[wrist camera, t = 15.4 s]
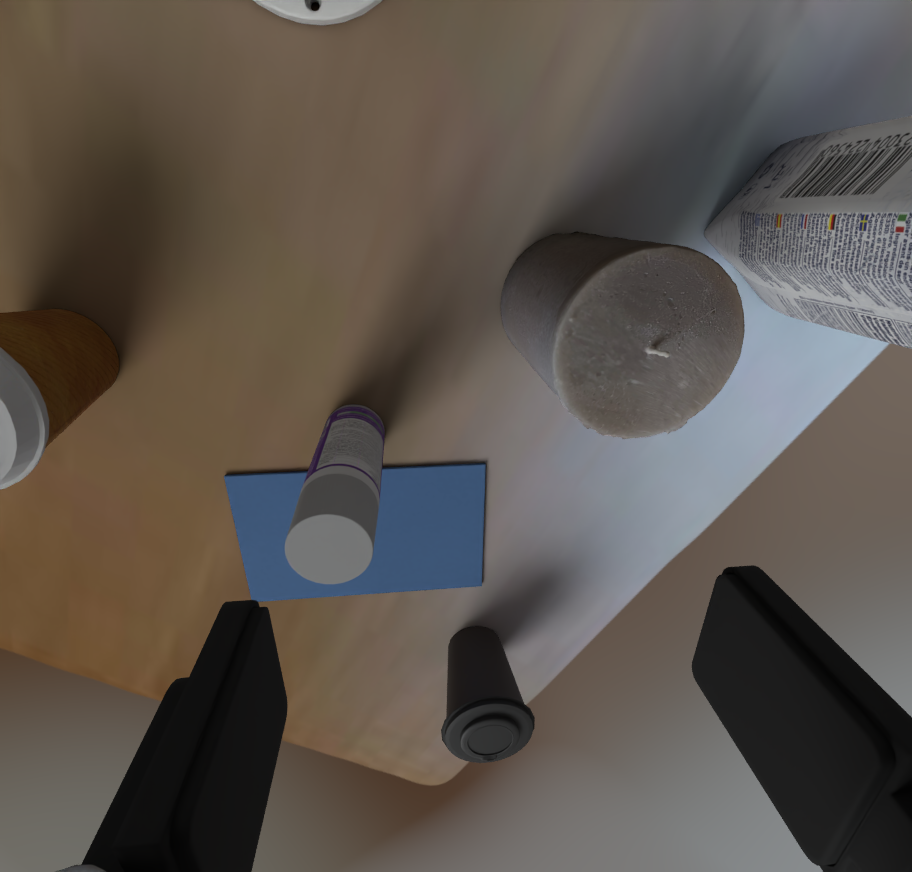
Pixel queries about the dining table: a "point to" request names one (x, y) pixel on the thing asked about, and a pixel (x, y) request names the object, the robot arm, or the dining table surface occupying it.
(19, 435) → the disposable coffee cup
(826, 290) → the juice carton
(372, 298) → the dining table surface
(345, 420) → the container
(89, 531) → the dining table surface
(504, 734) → the coffee cup
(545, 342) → the pillar candle
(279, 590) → the napkin
